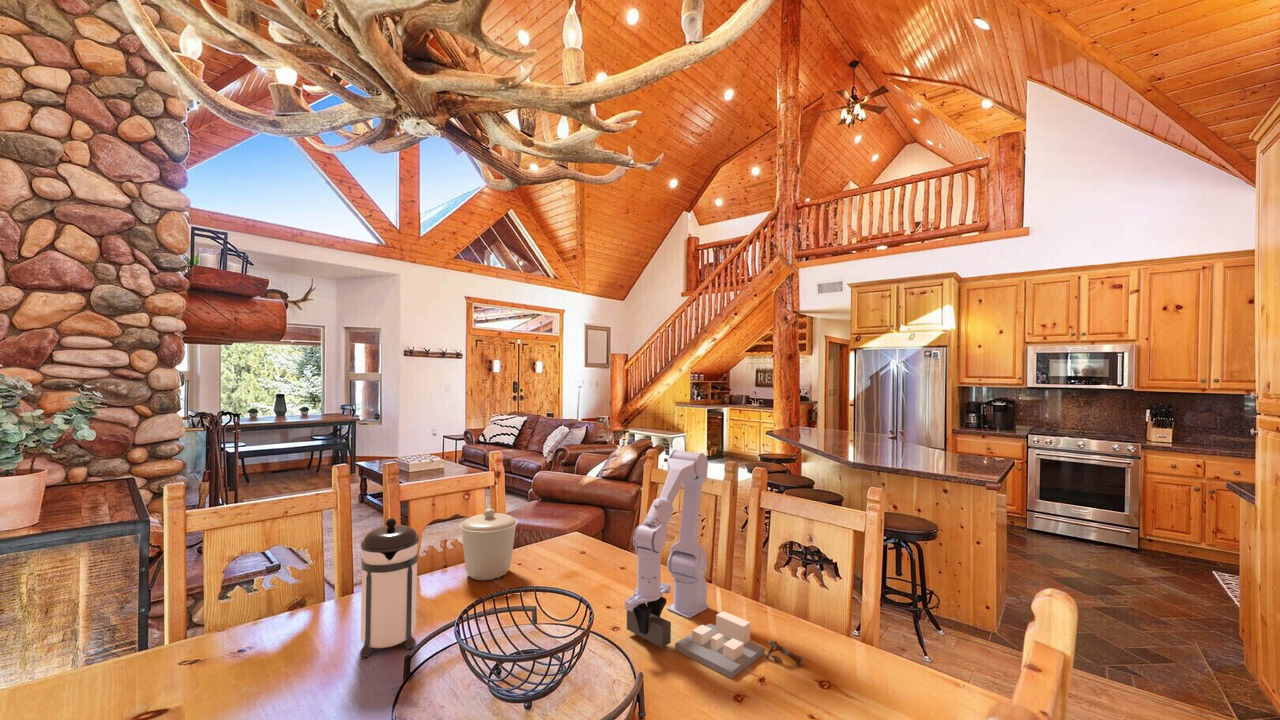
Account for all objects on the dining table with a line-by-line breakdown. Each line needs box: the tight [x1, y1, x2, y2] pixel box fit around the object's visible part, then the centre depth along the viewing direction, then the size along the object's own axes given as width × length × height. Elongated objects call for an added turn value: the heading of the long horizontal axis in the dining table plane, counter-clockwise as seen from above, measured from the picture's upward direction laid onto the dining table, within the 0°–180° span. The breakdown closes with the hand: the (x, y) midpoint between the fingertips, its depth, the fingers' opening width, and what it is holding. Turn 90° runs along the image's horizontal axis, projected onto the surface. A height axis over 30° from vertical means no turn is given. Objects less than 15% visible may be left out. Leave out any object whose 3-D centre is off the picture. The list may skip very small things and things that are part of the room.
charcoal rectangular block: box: [626, 609, 672, 649], centre depth 127 cm, size 3×12×5 cm, turn 46°
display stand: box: [674, 610, 766, 679], centre depth 123 cm, size 14×16×6 cm
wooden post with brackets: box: [765, 640, 804, 667], centre depth 119 cm, size 2×8×4 cm, turn 75°
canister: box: [459, 507, 519, 581], centre depth 166 cm, size 18×18×21 cm
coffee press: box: [360, 517, 420, 659], centre depth 126 cm, size 17×16×30 cm
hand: (648, 630), depth 127 cm, fingers closed on charcoal rectangular block, 3 cm apart
